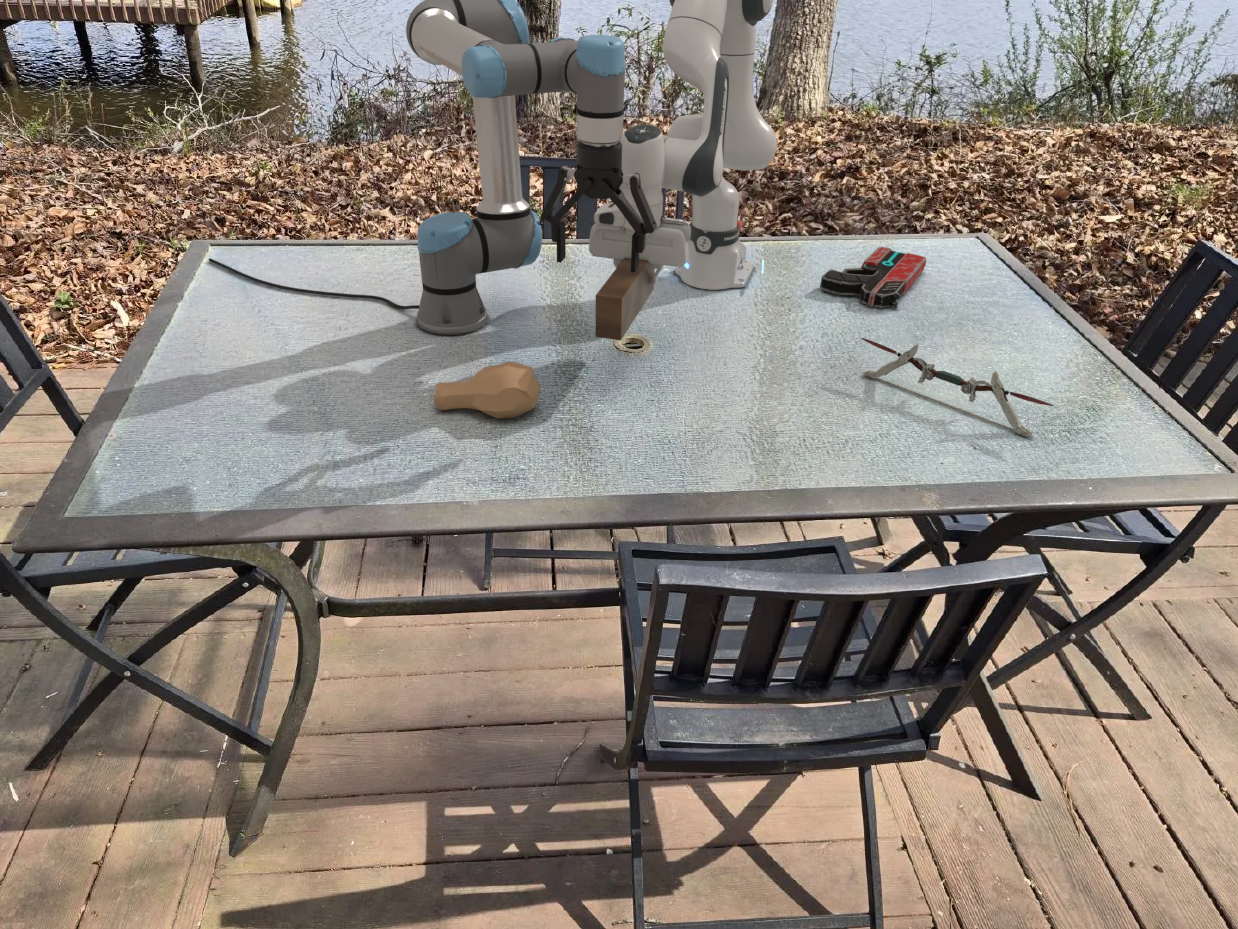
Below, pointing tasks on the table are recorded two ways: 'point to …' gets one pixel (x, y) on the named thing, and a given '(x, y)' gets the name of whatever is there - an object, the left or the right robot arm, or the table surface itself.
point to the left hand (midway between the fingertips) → (597, 264)
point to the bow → (966, 388)
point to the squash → (493, 391)
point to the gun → (877, 277)
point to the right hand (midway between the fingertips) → (637, 280)
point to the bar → (622, 298)
